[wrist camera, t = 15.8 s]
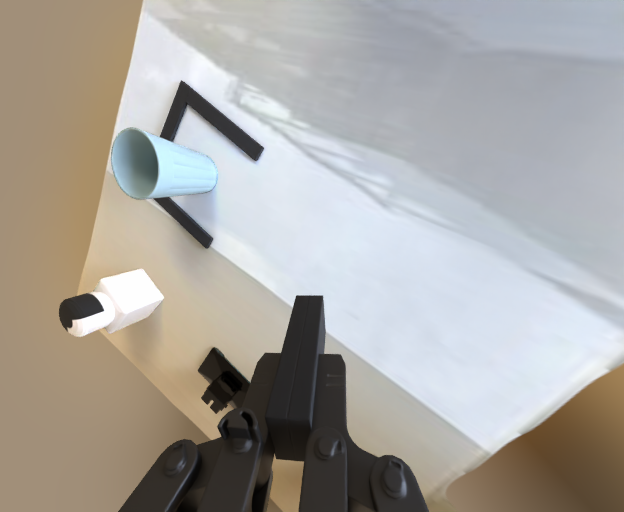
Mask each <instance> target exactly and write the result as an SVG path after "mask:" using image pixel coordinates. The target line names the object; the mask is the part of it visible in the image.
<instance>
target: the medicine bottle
mask: <svg viewBox="0 0 624 512" xmlns="http://www.w3.org/2000/svg"><path fill="white" fill-rule="evenodd" d="M163 299H164V296H163V295H162V294H161V292H160V291H159V290H158V288H157V287H156V286H155V284H154V283H153V282H152V280H151V279H150V278H149V276H148V275H147V274H146V272H145V271H144V270H143V269H138V270H134V271H130V272H126V273H122V274H118V275H114V276H110V277H106V278H102V279H100V281H99V282H98V284H97V285H96V287H95V289H94V290H93V292H90V293H86V294H82V295H79V296H75V297H72V298H68V299H65V300H64V301H63V302H62V303H61V305H60V308H59V317H60V321H61V323H62V325H63V327H64V328H65V329H66V330H67V331H68V332H69V333H70V334H72V335H73V336H78V337H82V336H84V335H87V334H89V333H92V332H94V331H96V330H99V329H101V328H105V329H106V331H107V332H108V333H113V332H115V331H118V330H120V329H122V328H124V327H127V326H129V325H131V324H133V323H136V322H138V321H140V320H142V319H145V318H147V317H148V316H149V315H150V314H151V313H152V312H153V311H154V309H155V308H156V307H157V306H158V305H159V304H160V302H161V301H162V300H163Z"/></svg>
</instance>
